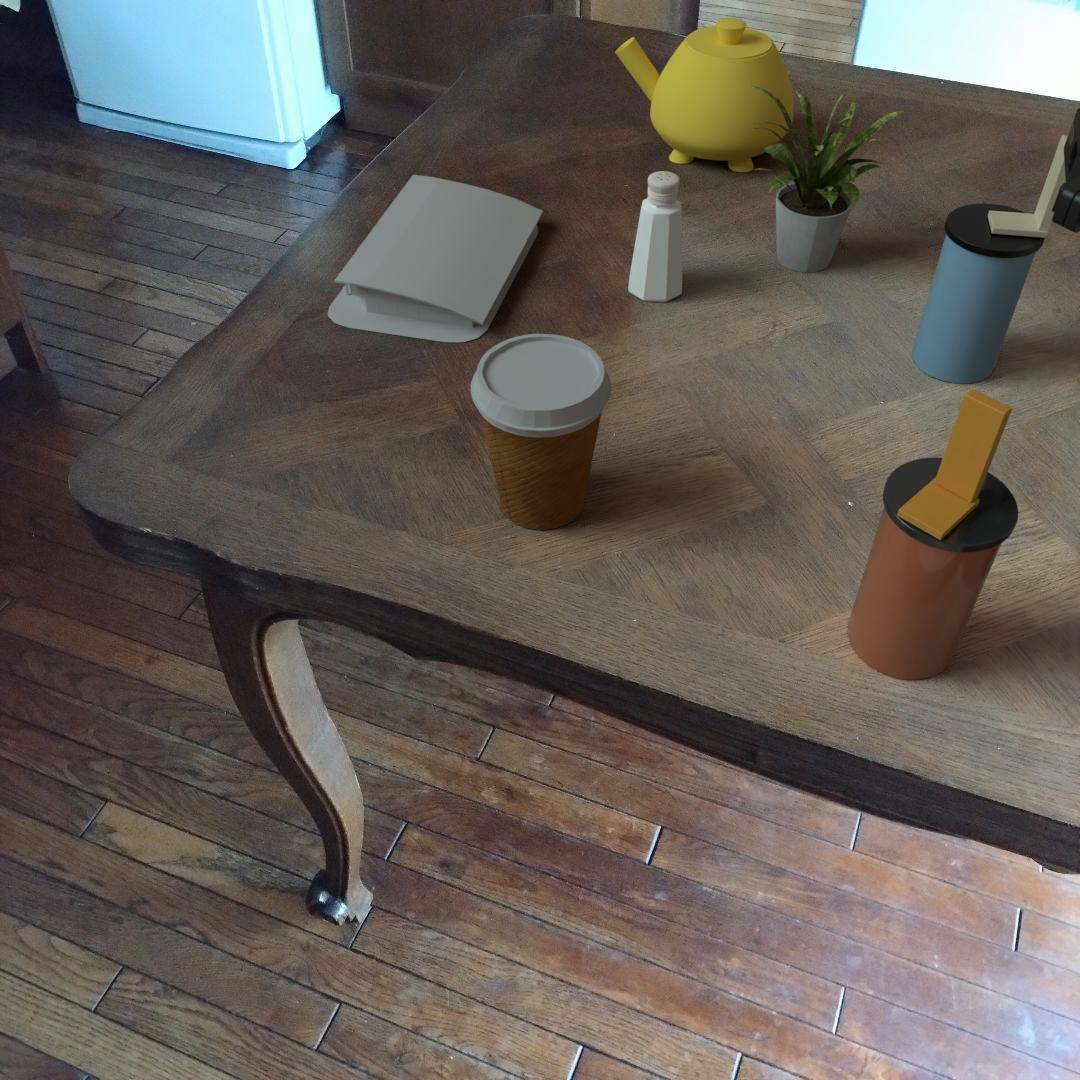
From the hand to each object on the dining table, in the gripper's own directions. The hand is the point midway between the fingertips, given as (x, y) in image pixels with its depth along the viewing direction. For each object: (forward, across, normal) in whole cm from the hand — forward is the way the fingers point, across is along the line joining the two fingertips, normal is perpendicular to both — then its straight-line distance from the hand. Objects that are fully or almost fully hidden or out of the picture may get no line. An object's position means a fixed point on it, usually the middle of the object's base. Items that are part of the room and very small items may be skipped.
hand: (1068, 211), depth 58 cm
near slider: (+11, +5, +13) cm, 18 cm away
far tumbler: (-17, -14, +26) cm, 34 cm away
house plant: (-18, -34, +26) cm, 47 cm away
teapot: (-26, -58, +27) cm, 69 cm away
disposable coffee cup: (+22, -20, +26) cm, 39 cm away
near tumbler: (+10, +5, +25) cm, 28 cm away
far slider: (-19, -13, +13) cm, 26 cm away
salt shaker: (-4, -38, +26) cm, 46 cm away
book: (+11, -52, +26) cm, 60 cm away
